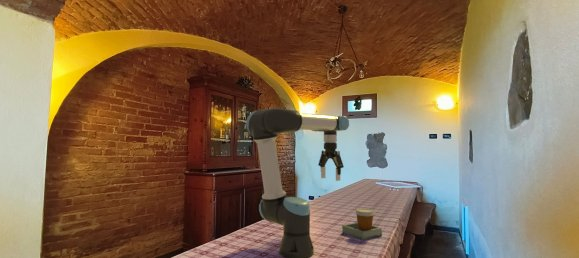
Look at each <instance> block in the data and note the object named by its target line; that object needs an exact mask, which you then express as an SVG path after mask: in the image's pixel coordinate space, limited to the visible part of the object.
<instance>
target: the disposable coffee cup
mask: <svg viewBox="0 0 579 258" xmlns="http://www.w3.org/2000/svg"><path fill="white" fill-rule="evenodd" d="M355 215H356V221H357V222H358V230H360V231H366V230H371V229H372V225H373V221H374V215H375V212H374V210H373V209H371V208H370V209H369V208H357V209H356V210H355ZM357 222H356V223H357Z"/></svg>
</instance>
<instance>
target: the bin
mask: <svg viewBox="0 0 579 258" xmlns="http://www.w3.org/2000/svg"><path fill="white" fill-rule="evenodd" d="M341 229H342V230H341V231H342V234H345V235H347V236H351V237H353V238H356V239H359V240H361V241H366V240H370V239H373V238H378V237H382V236H383V228H382V227H380V226H376V225H373V224H372V229H371V230H366V231H360V230H358V222H353V223H348V224H347V223H346V224H342V228H341Z"/></svg>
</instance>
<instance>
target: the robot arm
mask: <svg viewBox="0 0 579 258" xmlns="http://www.w3.org/2000/svg"><path fill="white" fill-rule="evenodd" d="M245 122H246V123H245V124H246V125H245V126H246V130H247V132H248V133H249V134H250V135H252V139H253V141H254V142H255V143H256V144H257V145H256V146H257V152H258V158H259V164H260V165H259V166H260V171H261V178H262V185H263V186H262V187H263V194H262V196H261V200H260V203H259V204H258V211H259V214H260V216H261V217H262V219H264V220H266V221H267V222H268V223H273V224H277V225H280V226H283V228H282V230H283V235H282V238H281V242H280V244H279V250H278V251H279V255H281V256H282V257H283V258H311V257H312V256H314V252H315V250H314V244H313V241H312V239H311V235H310V229H311V228H310V227H311V222H310V221H311V208H310V203H309V201H308V200H307V199H305V198H303V197H296V196H287V192H286V191H285V190H283V187H282V186H283V185H282V179H281V178H282V177H281V171H280V166H279V165H280V163H279V158H278V150H277V144H276V140H277V138H279V135H278V134H284V133H290V132H292V133H294V132H299V131H301V130H305V131H307V130H308V131H312V132H320V133H321V132H323V142H324V143H323V149H324V150H321V154H320V157H319V160H318V165H317V166H319V167H320V179H326V164H327V162H328V160H329V159H330V160H332V162H333V164H334V166H335V181H336V182H338V181H341V175H342V168H344V164H343V163H344V162H343V160H342V157H341V154H340V153H341V151H340V150H337V148H338V143H337V141H338V134H337V133H338V132H340V131H347V130H348V129H349V127H350V120H349V118H348V117H347V116H346V115H337V116H336V115H327V114H326V115H325V114H314V113H302V112H300V111H299V110H295V109H287V108H280V107H272V108H264V109H258V110H253V111H252V112H251V113H249V115H248V116H247V119H246V121H245Z"/></svg>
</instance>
